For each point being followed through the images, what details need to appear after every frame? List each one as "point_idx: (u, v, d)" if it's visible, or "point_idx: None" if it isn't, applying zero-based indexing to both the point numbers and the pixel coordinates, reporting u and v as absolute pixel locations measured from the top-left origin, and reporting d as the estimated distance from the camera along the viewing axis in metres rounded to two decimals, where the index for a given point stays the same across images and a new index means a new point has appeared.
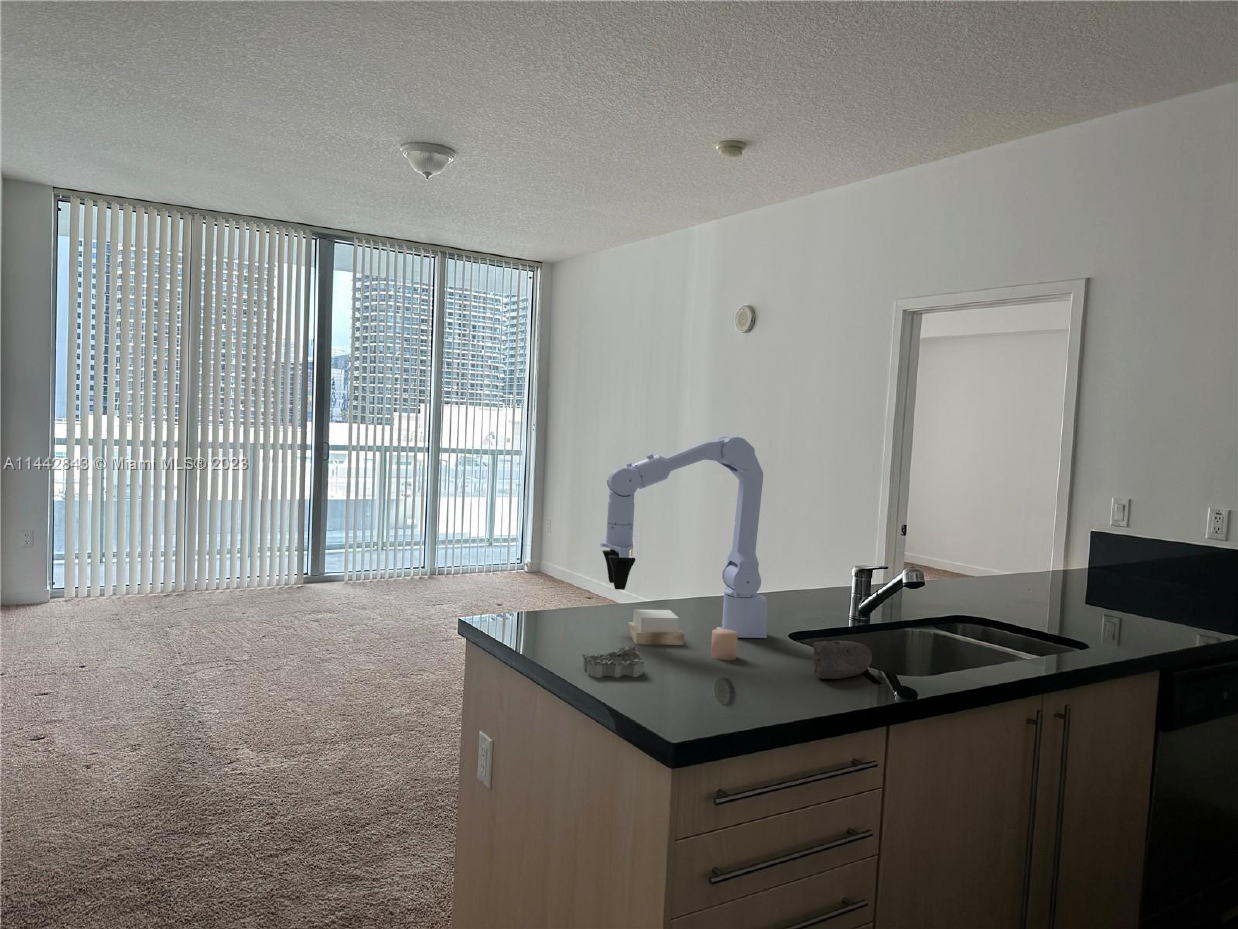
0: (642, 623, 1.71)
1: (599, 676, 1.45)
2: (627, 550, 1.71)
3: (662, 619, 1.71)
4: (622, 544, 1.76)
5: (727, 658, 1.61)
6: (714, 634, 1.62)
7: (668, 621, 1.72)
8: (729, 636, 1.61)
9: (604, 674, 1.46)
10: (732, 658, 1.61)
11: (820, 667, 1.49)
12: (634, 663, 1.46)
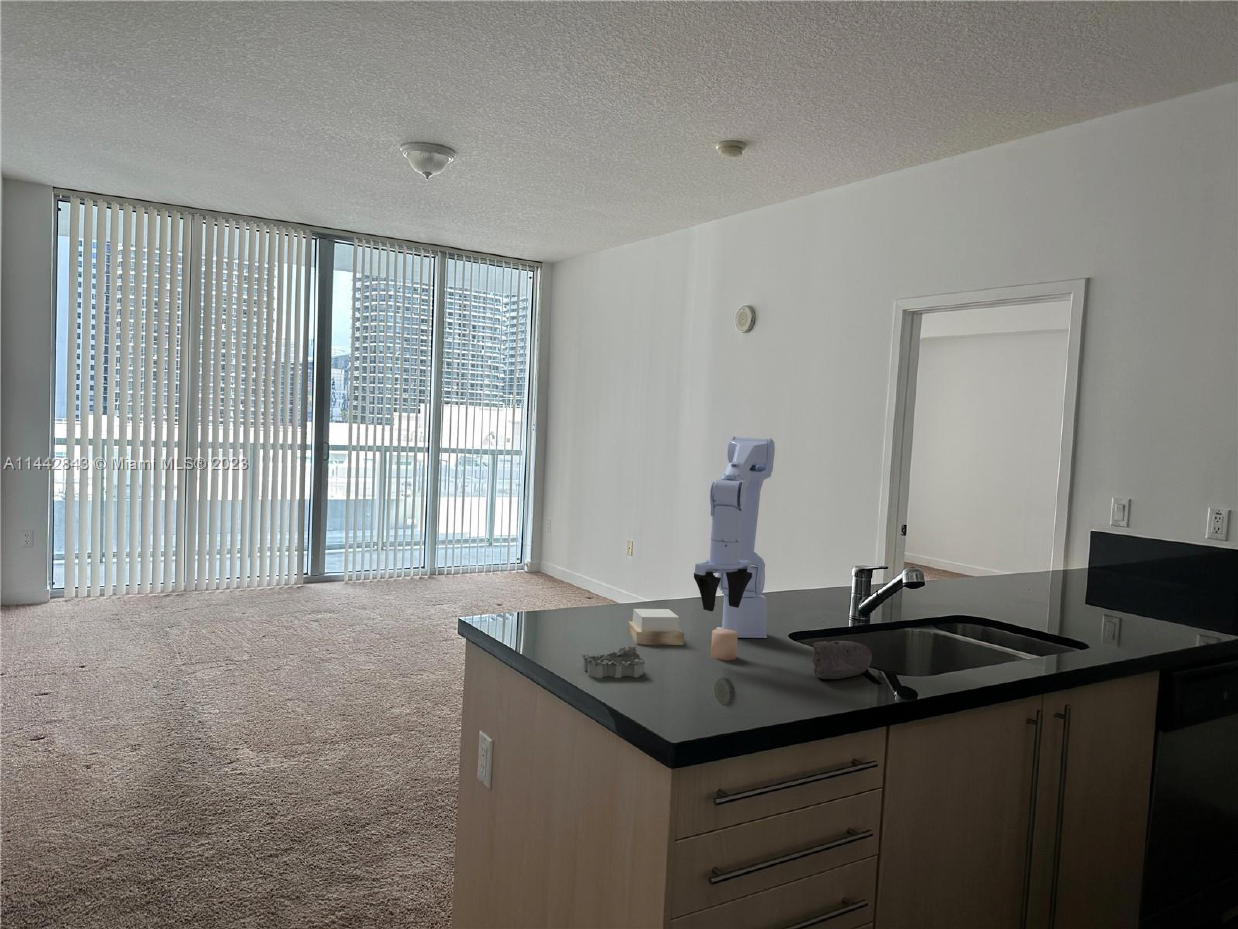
0: (643, 622, 1.71)
1: (600, 677, 1.44)
2: (701, 567, 1.58)
3: (663, 618, 1.71)
4: (715, 562, 1.61)
5: (727, 658, 1.61)
6: (714, 634, 1.62)
7: (668, 620, 1.72)
8: (729, 636, 1.61)
9: (605, 675, 1.46)
10: (732, 658, 1.61)
11: (820, 667, 1.49)
12: (635, 663, 1.46)
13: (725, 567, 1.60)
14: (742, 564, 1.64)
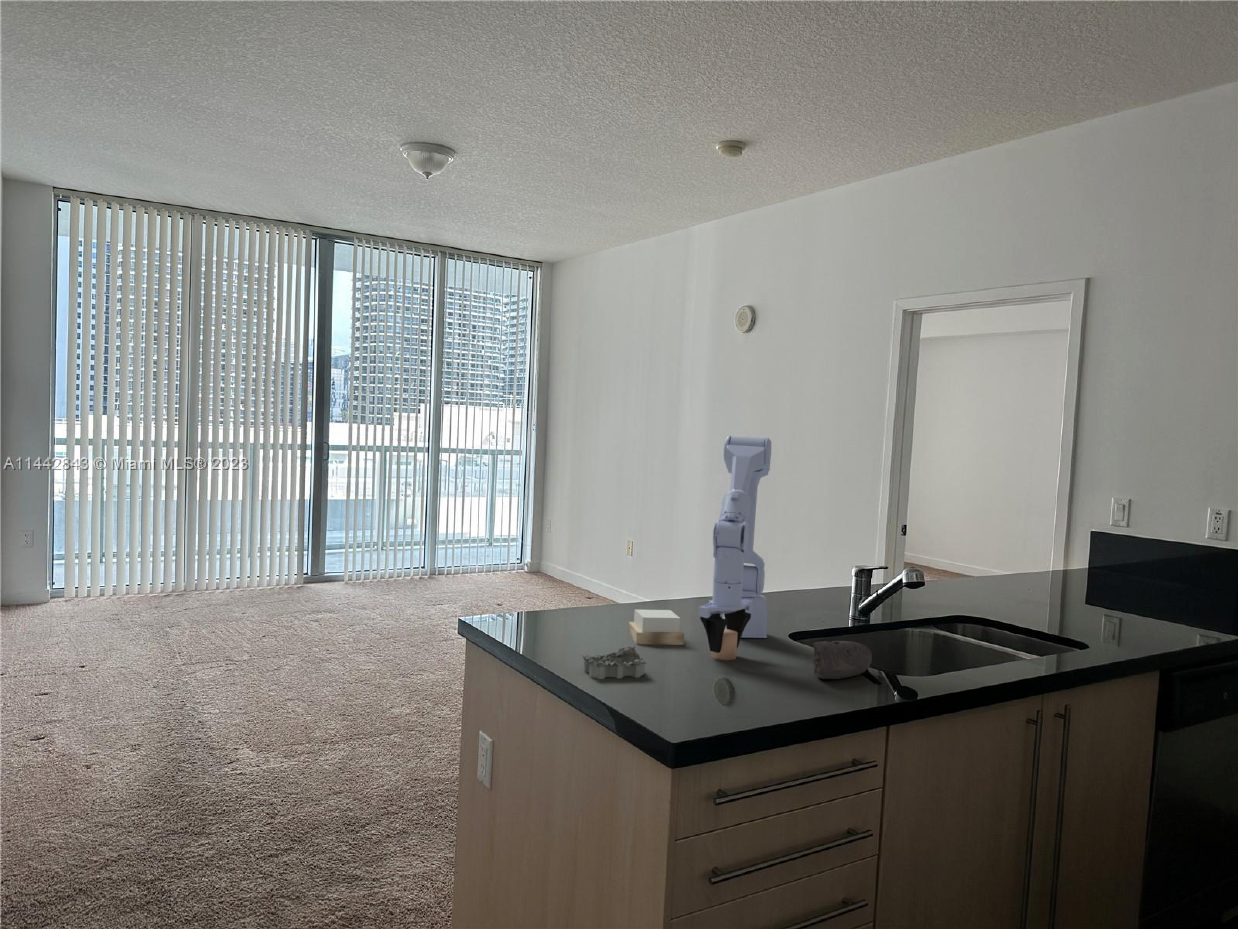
0: (644, 623, 1.71)
1: (602, 677, 1.44)
2: (705, 609, 1.58)
3: (664, 619, 1.71)
4: (718, 603, 1.61)
5: (727, 658, 1.61)
6: None
7: (669, 621, 1.72)
8: (729, 636, 1.61)
9: (606, 675, 1.45)
10: (732, 658, 1.61)
11: (820, 667, 1.49)
12: (636, 663, 1.46)
13: (728, 609, 1.60)
14: (744, 605, 1.64)
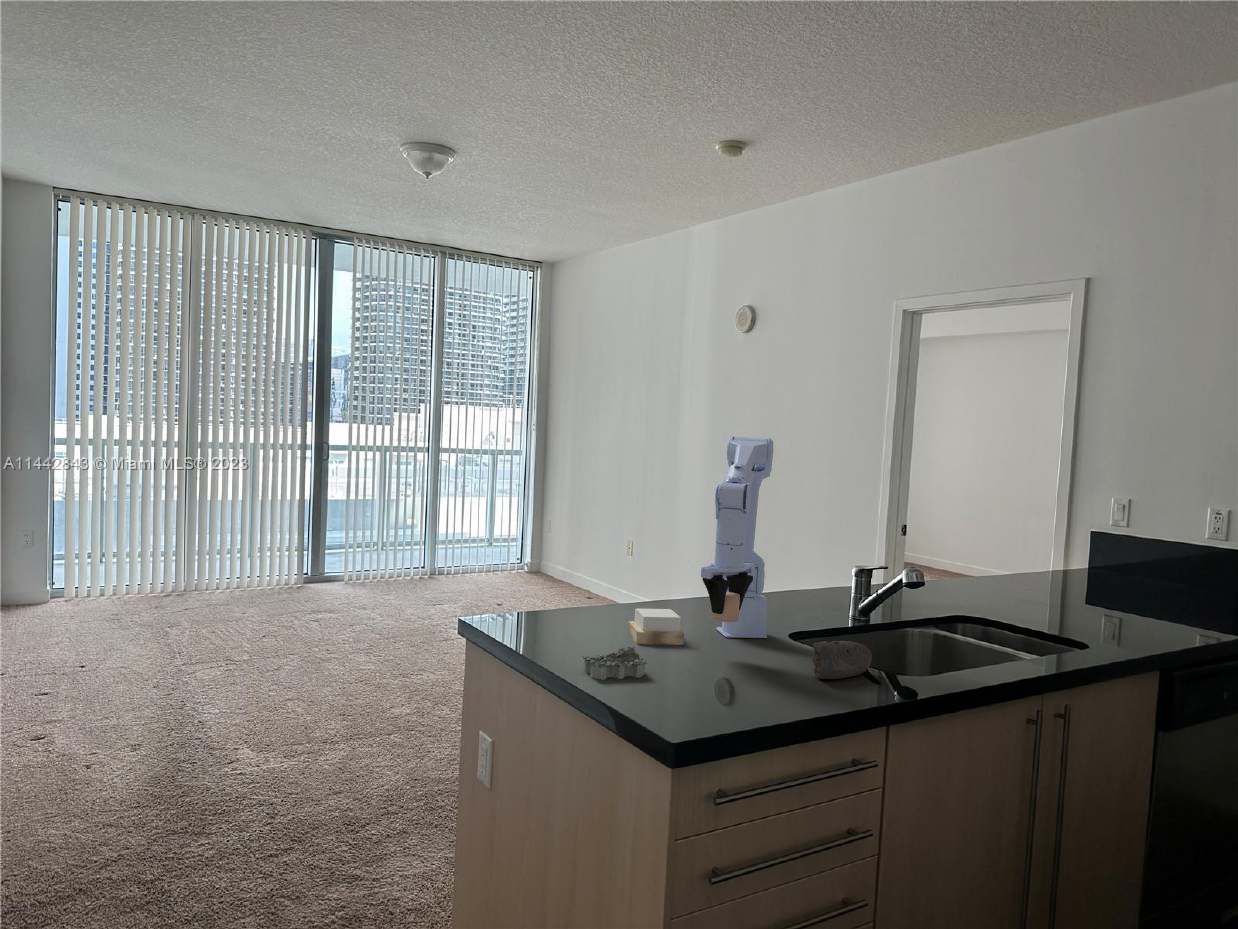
0: (645, 622, 1.71)
1: (603, 678, 1.44)
2: (707, 570, 1.57)
3: (664, 618, 1.72)
4: (720, 565, 1.61)
5: (729, 620, 1.61)
6: None
7: (670, 620, 1.72)
8: (731, 598, 1.61)
9: (607, 676, 1.45)
10: (734, 620, 1.61)
11: (820, 667, 1.49)
12: (637, 664, 1.46)
13: (731, 570, 1.60)
14: (747, 567, 1.64)
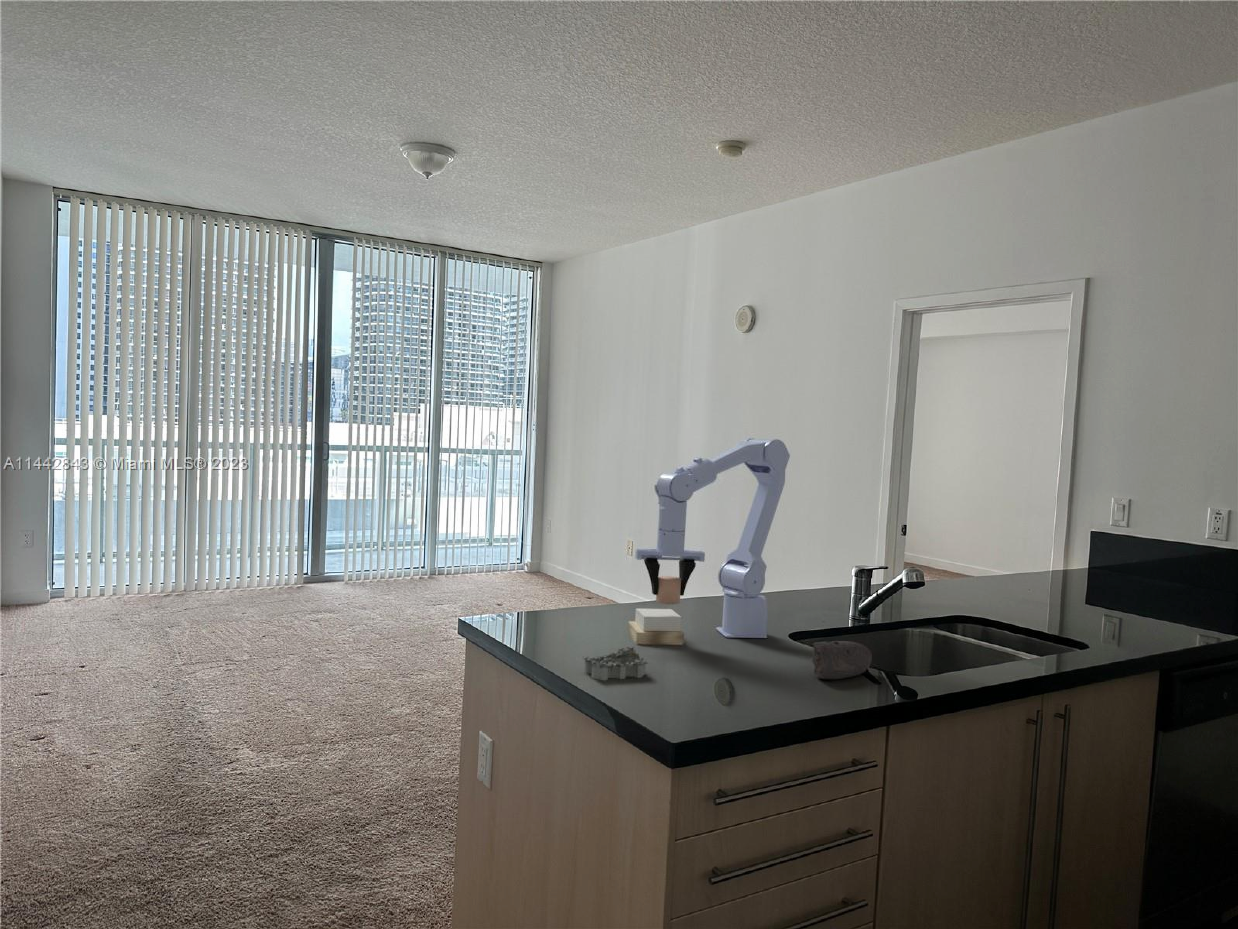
0: (645, 622, 1.71)
1: (605, 678, 1.43)
2: (637, 552, 1.71)
3: (665, 618, 1.72)
4: (657, 549, 1.72)
5: (665, 602, 1.70)
6: None
7: (670, 620, 1.72)
8: (667, 581, 1.70)
9: (609, 676, 1.45)
10: (670, 602, 1.70)
11: (820, 667, 1.49)
12: (638, 664, 1.46)
13: (662, 554, 1.70)
14: (687, 554, 1.71)
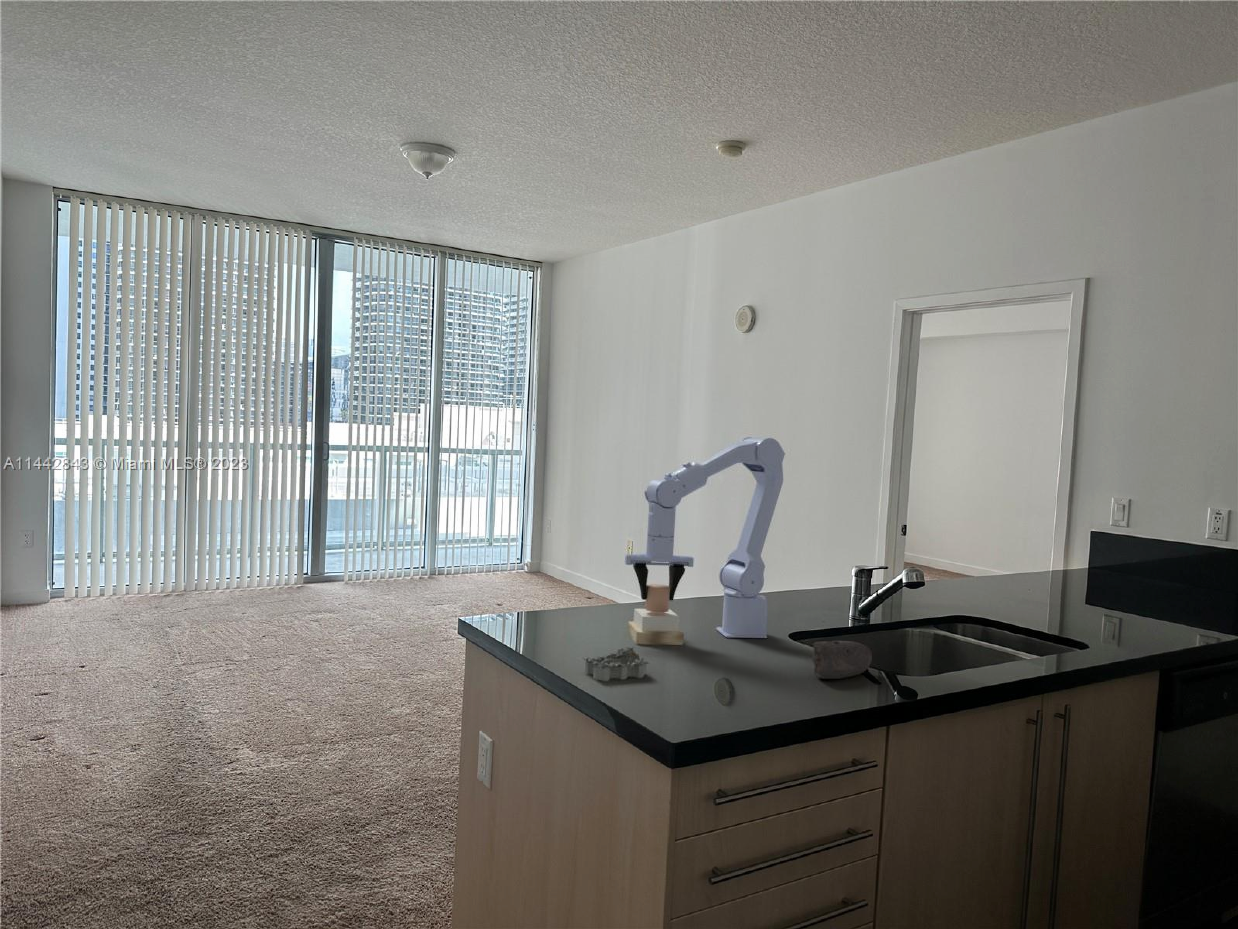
0: (644, 622, 1.71)
1: (607, 679, 1.43)
2: (626, 557, 1.73)
3: (663, 618, 1.72)
4: (646, 554, 1.74)
5: (653, 610, 1.72)
6: None
7: (669, 620, 1.72)
8: (656, 589, 1.72)
9: (610, 677, 1.44)
10: (659, 610, 1.72)
11: (820, 667, 1.49)
12: (639, 664, 1.46)
13: (651, 559, 1.72)
14: (676, 559, 1.73)
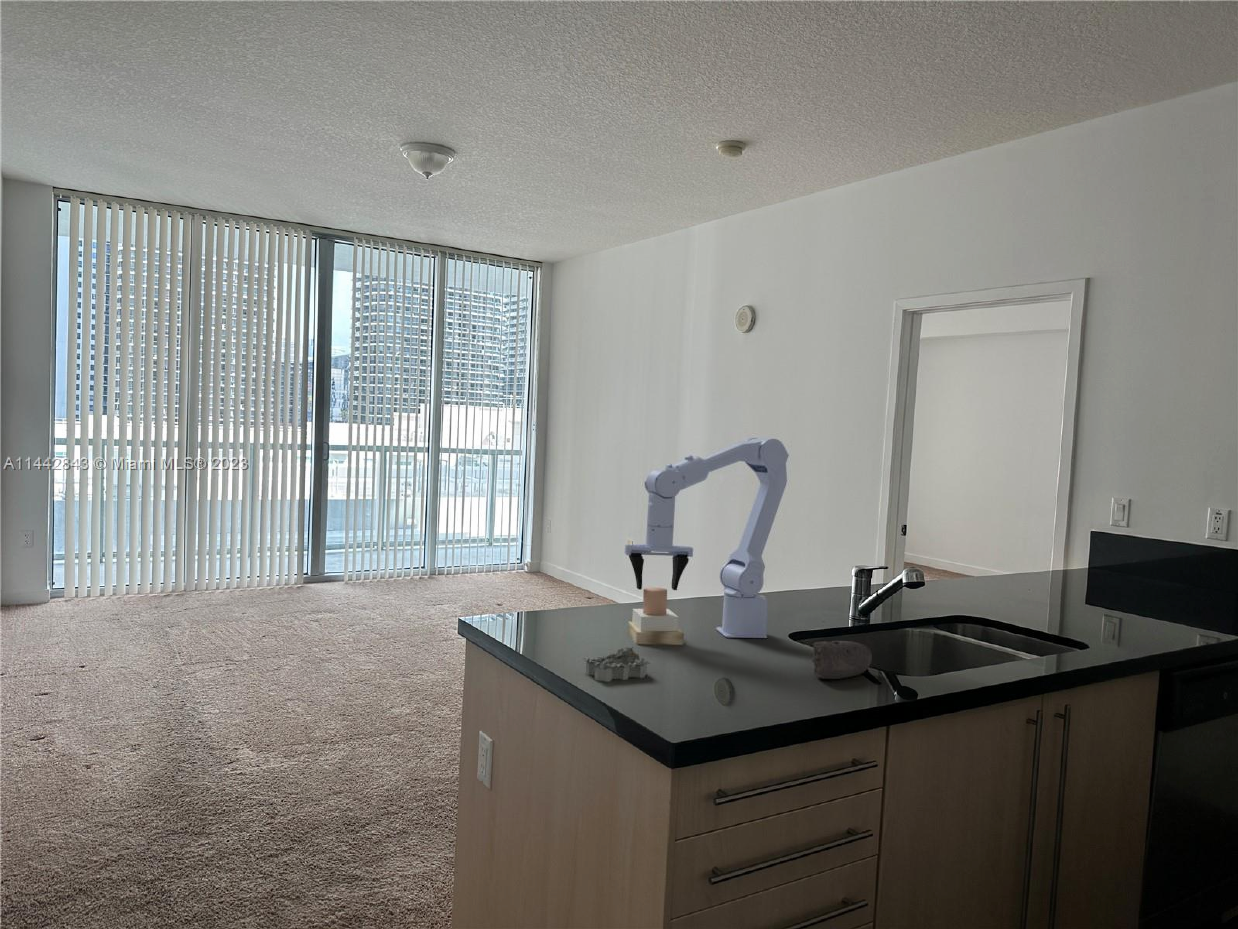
0: (642, 622, 1.71)
1: (609, 680, 1.43)
2: (626, 547, 1.74)
3: (662, 618, 1.72)
4: (646, 544, 1.75)
5: (651, 613, 1.73)
6: None
7: (667, 620, 1.72)
8: (652, 592, 1.73)
9: (612, 677, 1.44)
10: (656, 613, 1.73)
11: (820, 667, 1.49)
12: (640, 664, 1.46)
13: (651, 549, 1.73)
14: (675, 549, 1.74)
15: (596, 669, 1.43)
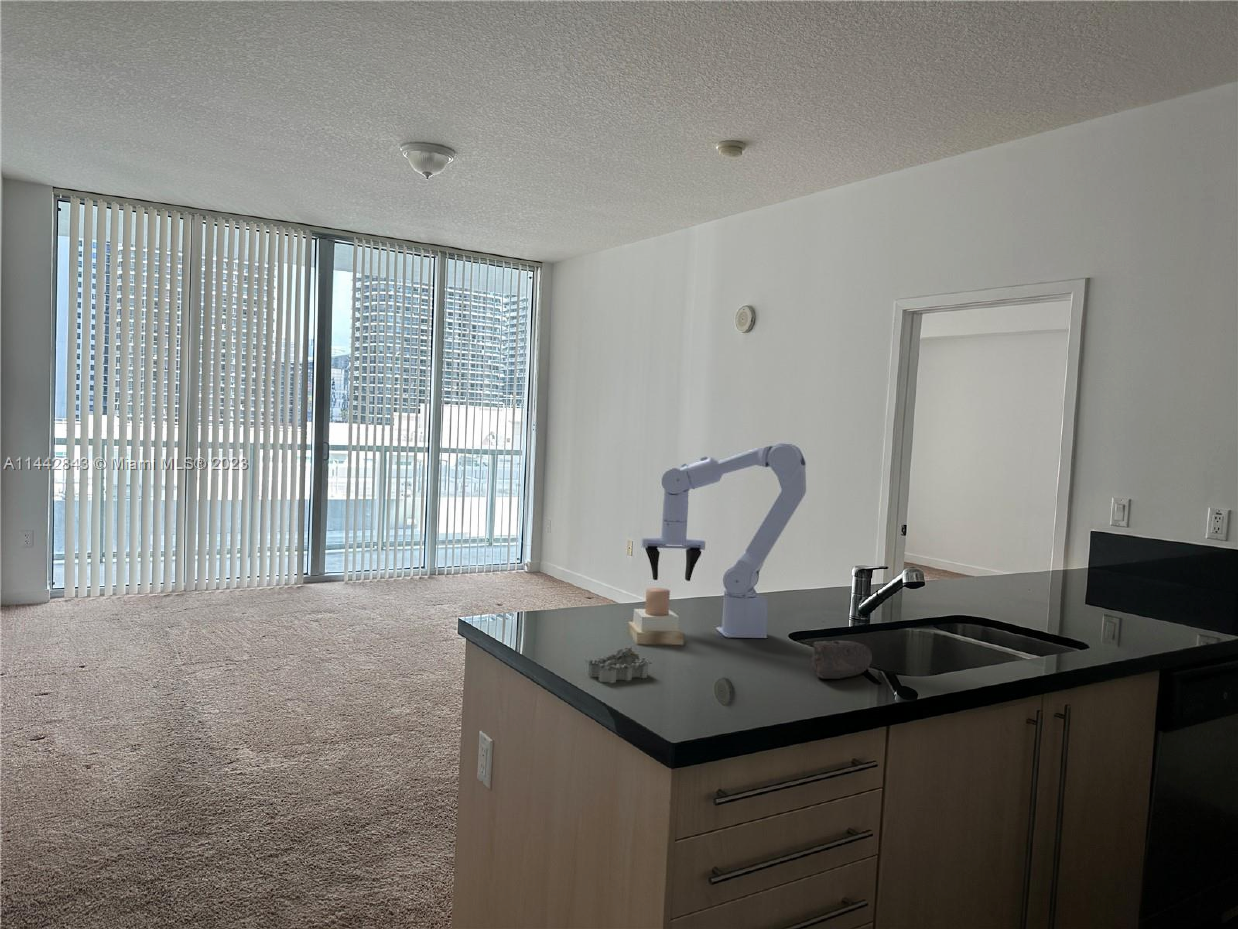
0: (643, 622, 1.71)
1: (614, 681, 1.42)
2: (643, 540, 1.87)
3: (663, 618, 1.72)
4: (661, 538, 1.88)
5: (654, 613, 1.73)
6: (646, 591, 1.75)
7: (668, 620, 1.72)
8: (655, 593, 1.73)
9: (616, 678, 1.44)
10: (659, 614, 1.73)
11: (820, 667, 1.49)
12: (643, 664, 1.46)
13: (666, 543, 1.86)
14: (689, 542, 1.87)
15: (600, 671, 1.42)
